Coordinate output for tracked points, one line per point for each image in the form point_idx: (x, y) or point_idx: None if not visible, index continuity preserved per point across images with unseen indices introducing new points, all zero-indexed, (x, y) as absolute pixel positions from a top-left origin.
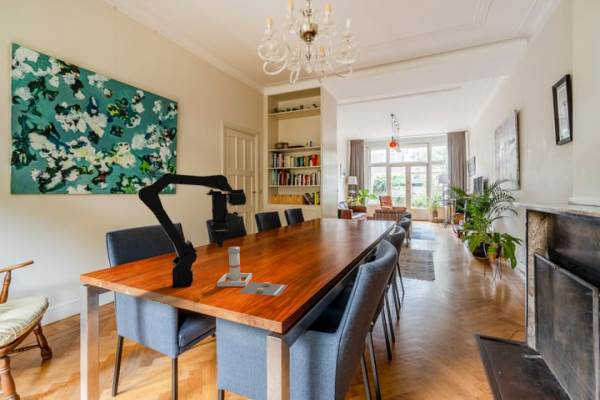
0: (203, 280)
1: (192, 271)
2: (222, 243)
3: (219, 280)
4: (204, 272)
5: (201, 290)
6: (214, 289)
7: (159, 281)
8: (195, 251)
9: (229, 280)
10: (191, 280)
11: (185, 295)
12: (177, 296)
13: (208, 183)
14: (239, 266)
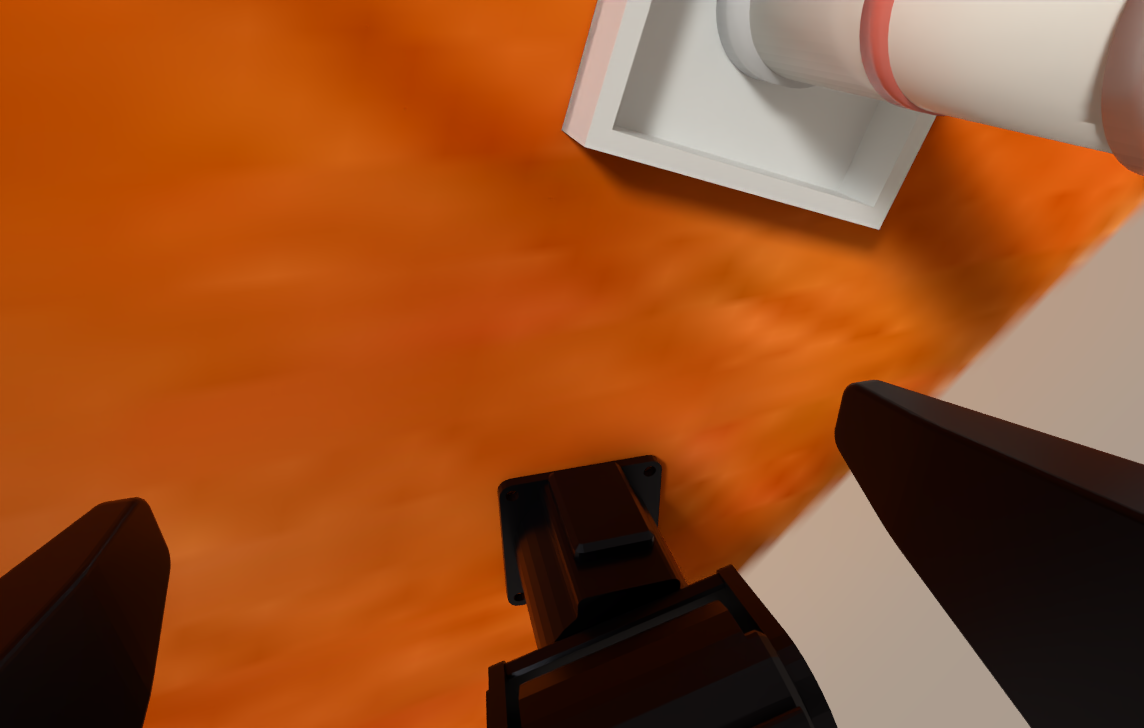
0: (508, 384)
1: (626, 538)
2: (992, 423)
3: (838, 209)
4: (162, 439)
5: (795, 343)
6: (825, 234)
7: (434, 701)
8: (803, 723)
9: (807, 84)
10: (626, 482)
11: None
12: (834, 476)
13: None
14: None
